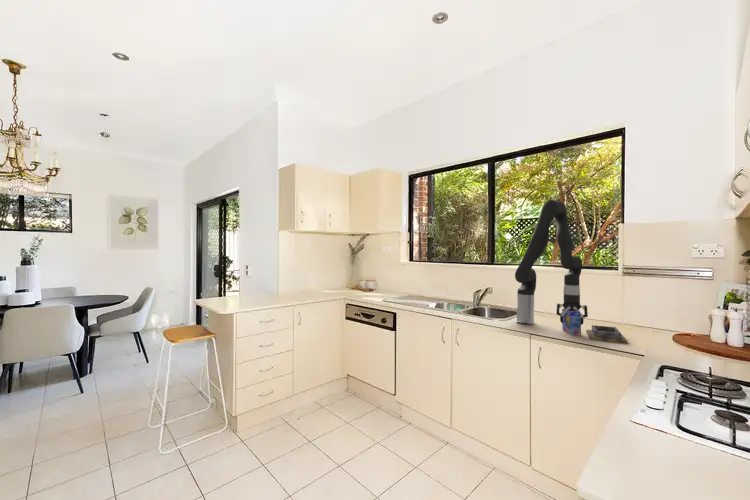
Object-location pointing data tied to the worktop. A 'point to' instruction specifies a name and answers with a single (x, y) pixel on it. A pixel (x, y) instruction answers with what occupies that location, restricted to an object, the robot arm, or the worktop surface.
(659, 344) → the worktop surface
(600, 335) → the docking frame
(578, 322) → the ink cartridge box
